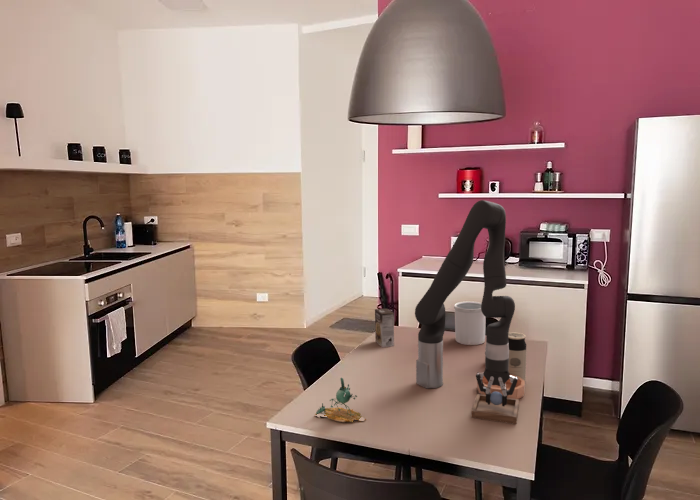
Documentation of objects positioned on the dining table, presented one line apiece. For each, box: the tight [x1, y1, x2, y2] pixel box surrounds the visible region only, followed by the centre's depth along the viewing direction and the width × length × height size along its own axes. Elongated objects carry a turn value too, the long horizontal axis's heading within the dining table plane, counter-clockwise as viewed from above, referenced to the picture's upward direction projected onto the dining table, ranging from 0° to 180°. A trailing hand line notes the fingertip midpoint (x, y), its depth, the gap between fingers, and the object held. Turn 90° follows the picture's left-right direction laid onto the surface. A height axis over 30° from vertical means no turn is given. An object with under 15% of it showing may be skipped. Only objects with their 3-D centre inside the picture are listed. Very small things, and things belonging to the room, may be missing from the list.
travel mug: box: [508, 331, 527, 382], centre depth 199 cm, size 8×8×18 cm
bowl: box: [476, 374, 526, 400], centre depth 190 cm, size 16×16×4 cm
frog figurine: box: [315, 377, 363, 423], centre depth 172 cm, size 10×18×15 cm, turn 68°
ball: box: [490, 392, 502, 405], centre depth 174 cm, size 4×4×4 cm
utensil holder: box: [453, 300, 486, 346], centre depth 247 cm, size 15×15×18 cm
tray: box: [471, 393, 520, 425], centre depth 174 cm, size 14×14×2 cm
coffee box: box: [374, 308, 395, 348], centre depth 245 cm, size 9×6×16 cm
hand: (496, 404), depth 174 cm, fingers closed on ball, 4 cm apart
